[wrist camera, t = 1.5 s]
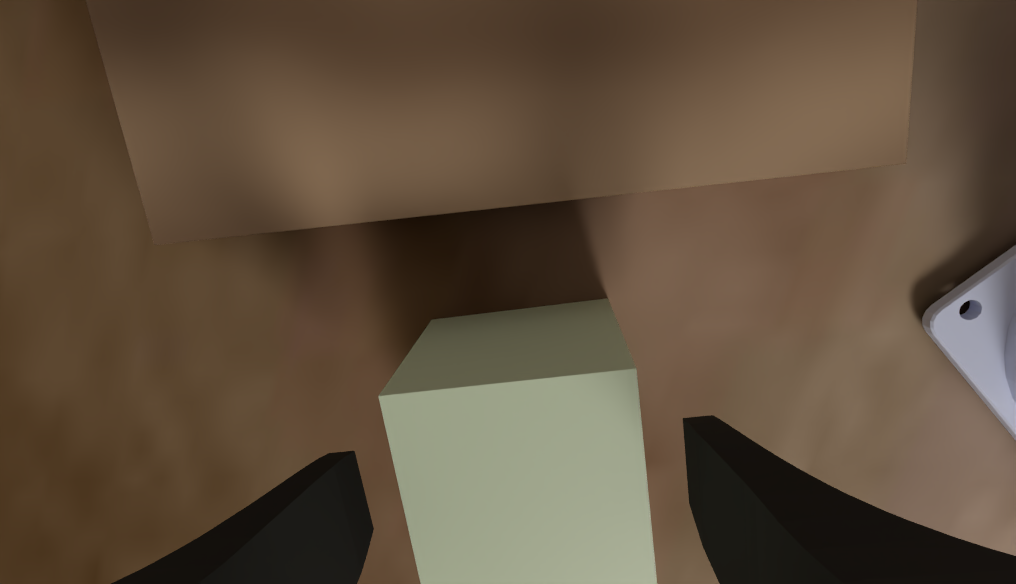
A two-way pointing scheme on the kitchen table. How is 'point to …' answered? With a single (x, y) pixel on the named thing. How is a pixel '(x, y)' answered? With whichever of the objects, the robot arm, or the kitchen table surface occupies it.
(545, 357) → the sage cube
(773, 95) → the walnut board
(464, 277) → the kitchen table surface
